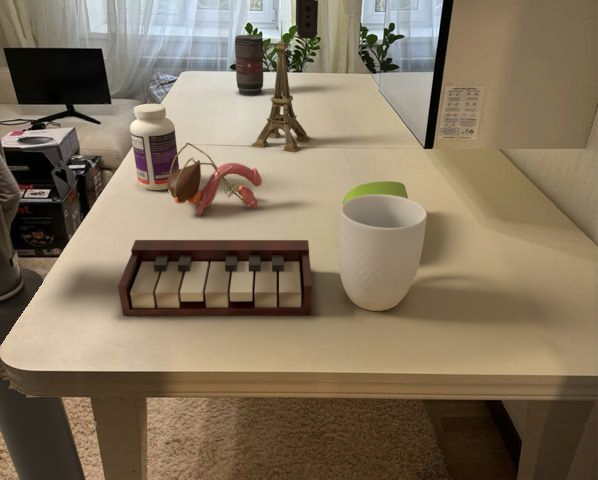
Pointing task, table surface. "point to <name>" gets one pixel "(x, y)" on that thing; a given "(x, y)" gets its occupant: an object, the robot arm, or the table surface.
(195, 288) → the key
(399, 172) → the table surface
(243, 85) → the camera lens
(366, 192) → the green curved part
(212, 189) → the anatomy model
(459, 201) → the table surface
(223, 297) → the piano
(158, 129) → the pill bottle
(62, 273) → the table surface
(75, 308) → the table surface
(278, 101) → the eiffel tower
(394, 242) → the mug
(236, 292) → the key
